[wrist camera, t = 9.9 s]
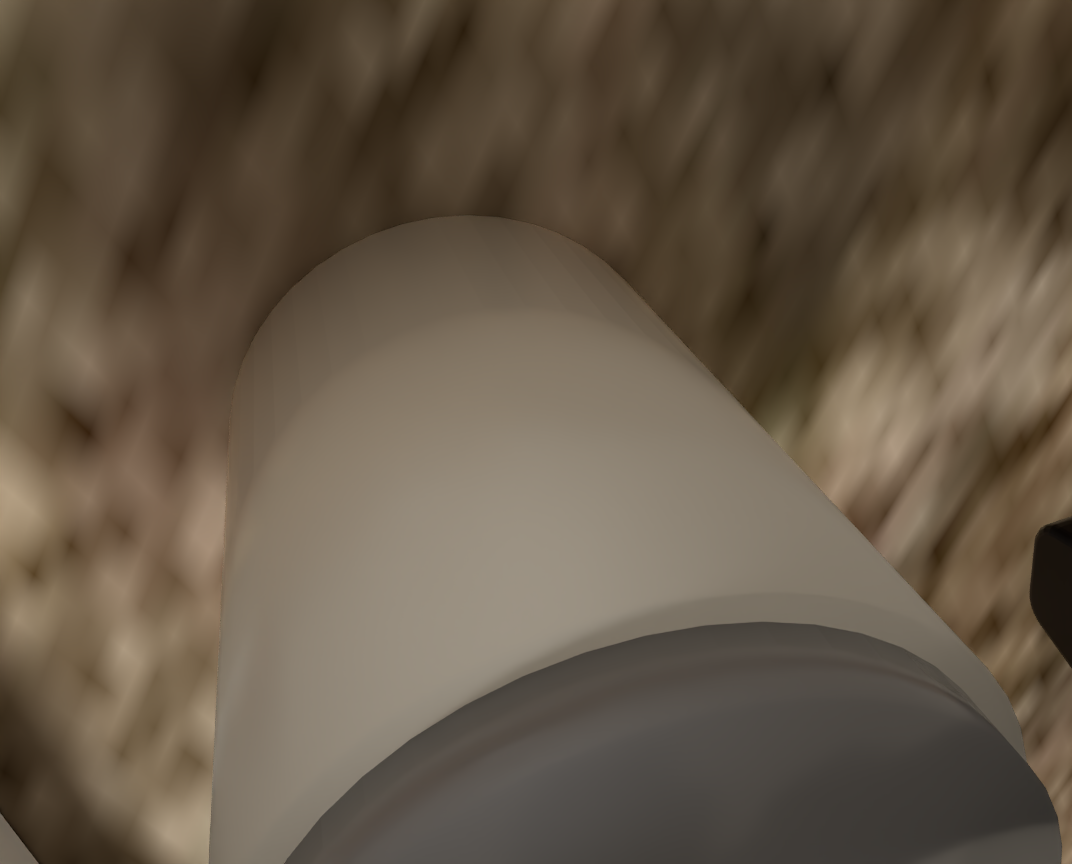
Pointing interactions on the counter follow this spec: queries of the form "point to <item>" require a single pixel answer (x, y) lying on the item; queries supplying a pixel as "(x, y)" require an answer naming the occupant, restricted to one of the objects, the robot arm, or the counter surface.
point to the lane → (12, 846)
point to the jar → (565, 598)
